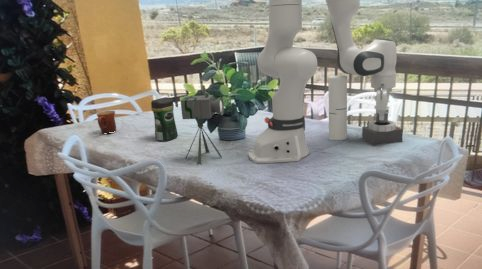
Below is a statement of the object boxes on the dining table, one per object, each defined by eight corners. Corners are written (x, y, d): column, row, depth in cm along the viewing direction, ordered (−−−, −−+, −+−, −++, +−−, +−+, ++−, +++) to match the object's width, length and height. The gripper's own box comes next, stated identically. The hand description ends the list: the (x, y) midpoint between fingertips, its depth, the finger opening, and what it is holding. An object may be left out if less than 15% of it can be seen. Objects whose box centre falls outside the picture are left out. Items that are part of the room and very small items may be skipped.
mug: (105, 130, 204) (101, 110, 201) (121, 130, 203) (118, 110, 200) (93, 137, 193) (89, 116, 190) (110, 137, 191) (106, 116, 188)
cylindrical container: (347, 140, 162) (347, 77, 155) (329, 140, 163) (328, 78, 156) (346, 134, 168) (346, 75, 161) (328, 135, 170) (328, 75, 163)
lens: (387, 129, 154) (388, 112, 152) (375, 129, 156) (375, 111, 154) (388, 126, 158) (388, 109, 156) (375, 126, 160) (376, 109, 158)
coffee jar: (169, 134, 188) (164, 95, 182) (180, 137, 182) (176, 96, 177) (152, 140, 181) (147, 99, 176) (163, 142, 176) (158, 101, 170)
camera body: (373, 145, 153) (373, 128, 151) (361, 138, 162) (361, 121, 160) (402, 142, 154) (403, 124, 152) (389, 135, 164) (390, 118, 162)
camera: (180, 165, 146) (171, 98, 139) (190, 151, 161) (184, 90, 154) (222, 165, 144) (216, 96, 137) (229, 151, 159) (224, 88, 152)
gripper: (391, 87, 141) (389, 125, 145) (392, 78, 160) (391, 112, 163) (372, 87, 144) (371, 124, 148) (376, 78, 162) (375, 111, 166)
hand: (382, 117), depth 156 cm, fingers closed on lens, 4 cm apart
